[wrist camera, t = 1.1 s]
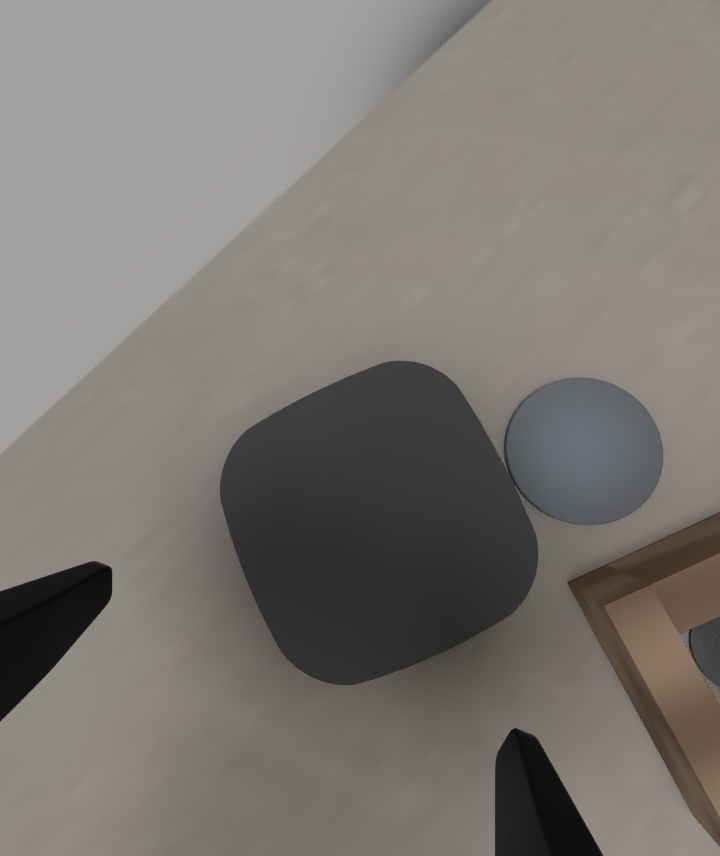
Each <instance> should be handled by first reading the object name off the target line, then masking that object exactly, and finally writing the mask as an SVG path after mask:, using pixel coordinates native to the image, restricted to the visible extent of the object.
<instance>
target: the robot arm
mask: <svg viewBox="0 0 720 856" xmlns="http://www.w3.org/2000/svg"><path fill="white" fill-rule="evenodd" d="M111 595H112V569H111V567H109V566H107V565H105V564H102V563H100V562H96V561H92V562H88V563H85V564H82V565H79V566H76V567H73V568H70V569H67V570H64V571H61V572H57V573H54V574H51V575H48V576H45V577H42V578H39V579H36V580H33V581H30V582H27V583H24V584H21V585H18V586H15V587H12V588H9V589H6V590H3V591H0V721H1V720H2V719H3V718H4V717H5V716H6V715H7V714H8V713H9V712H10V711H11V710H12V709H13V708H14V707H15V706H16V705H17V704H18V703H19V702H20V701H21V700H22V699H23V698H24V697H25V696H26V695H27V694H28V693H29V692H30V691H31V690H32V689H33V688H34V687H35V686H36V685H37V684H38V683H39V682H40V681H41V680H42V679H43V678H44V677H45V676H46V675H47V674H48V673H49V672H50V671H51V669H52V668H53V667H54V666H55V665H56V664H57V663H58V662H59V661H60V659H61V658H62V657H63V656H64V655H65V653H66V652H67V651H68V650H69V649H70V648H71V646H72V645H73V644H74V643H75V642H76V641H77V639H78V638H79V637H80V636H81V635H82V634H83V632H84V631H85V630H86V629H87V628H88V627H89V625H90V624H91V623H92V622H93V621H94V619H95V618H96V617H97V616H98V615H99V614H100V612H101V611H102V610H103V609H104V608H105V607H106V605H107V604H108V602H109V601H110V598H111ZM495 856H603V854H602V853H601V851H600V849H599V847H598V846H597V844H596V842H595V840H594V838H593V837H592V835H591V833H590V831H589V829H588V828H587V826H586V824H585V822H584V821H583V819H582V817H581V815H580V813H579V812H578V810H577V808H576V806H575V805H574V803H573V801H572V799H571V797H570V796H569V794H568V792H567V790H566V789H565V787H564V785H563V783H562V781H561V780H560V778H559V776H558V774H557V772H556V771H555V769H554V767H553V765H552V764H551V762H550V760H549V758H548V756H547V755H546V753H545V751H544V749H543V748H542V746H541V744H540V742H539V741H538V739H537V738H536V737H535V736H533V735H532V734H530V733H527V732H525V731H522V730H519V729H517V728H514V729H512V730H511V731H510V733H509V734H508V736H507V738H506V739H505V741H504V743H503V745H502V746H501V748H500V750H499V751H498V754H497V757H496V764H495Z"/></svg>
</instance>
